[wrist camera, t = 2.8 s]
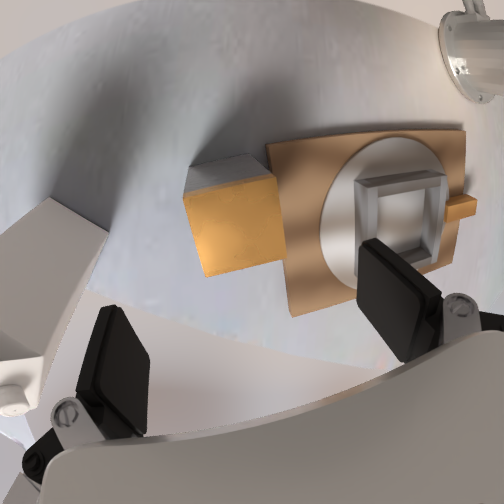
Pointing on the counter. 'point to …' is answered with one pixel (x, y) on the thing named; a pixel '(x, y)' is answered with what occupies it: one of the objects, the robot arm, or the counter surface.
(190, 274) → the counter surface
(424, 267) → the rosette board
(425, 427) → the robot arm
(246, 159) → the grey orange block
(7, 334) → the milk carton
